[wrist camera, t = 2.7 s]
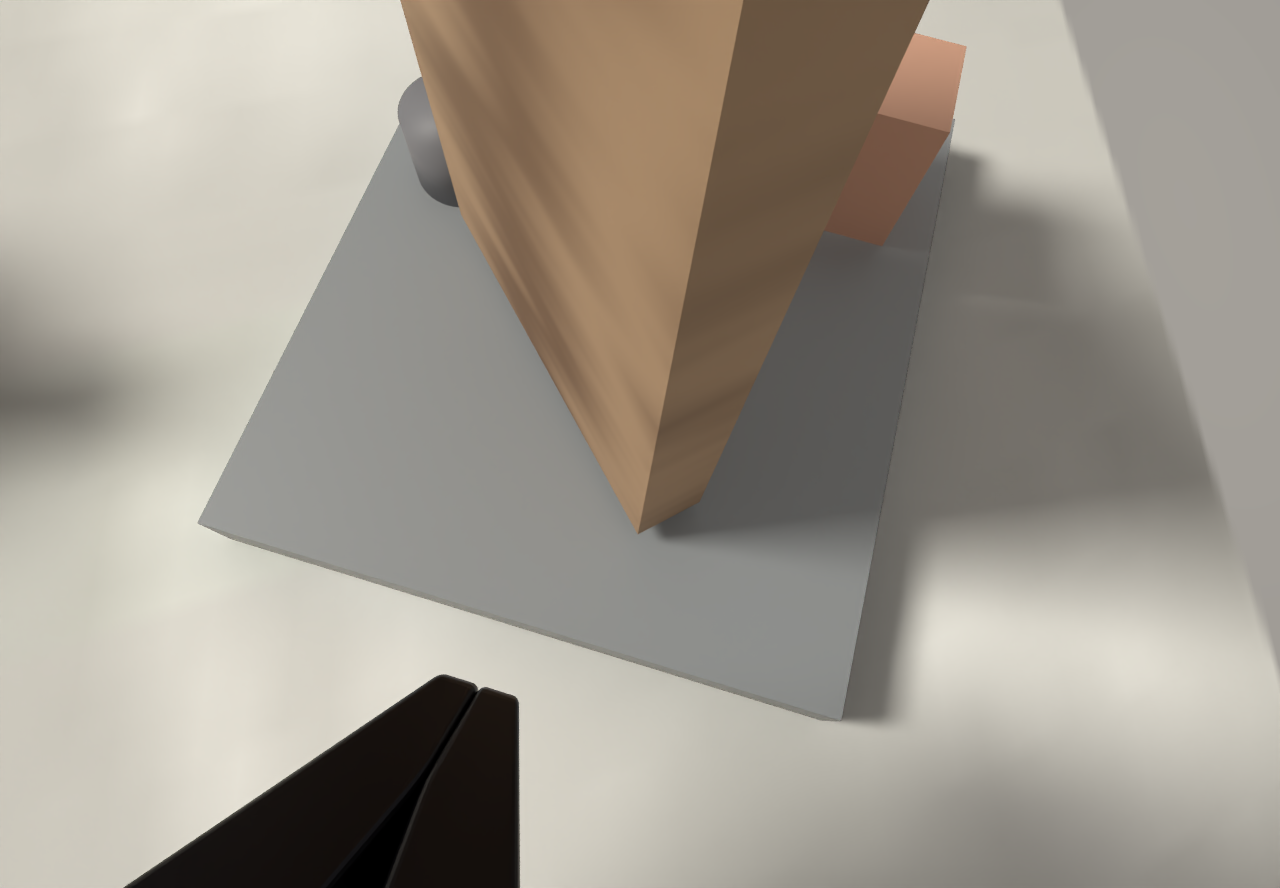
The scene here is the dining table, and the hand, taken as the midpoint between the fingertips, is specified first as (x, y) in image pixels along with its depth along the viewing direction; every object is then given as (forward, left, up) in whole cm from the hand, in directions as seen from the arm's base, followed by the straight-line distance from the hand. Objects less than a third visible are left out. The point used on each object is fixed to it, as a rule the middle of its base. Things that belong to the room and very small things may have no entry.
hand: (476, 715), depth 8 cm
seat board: (+7, +6, -9) cm, 13 cm away
